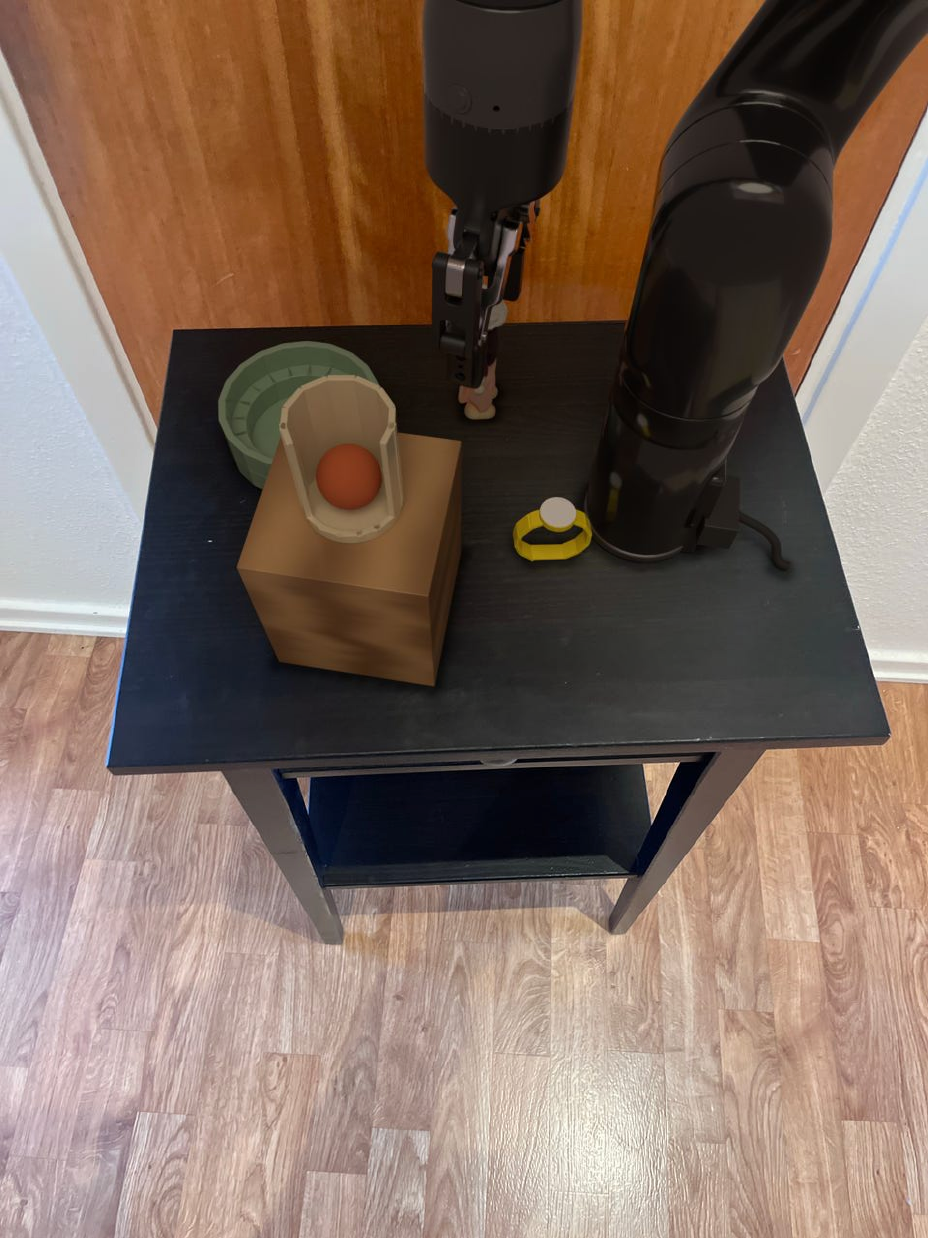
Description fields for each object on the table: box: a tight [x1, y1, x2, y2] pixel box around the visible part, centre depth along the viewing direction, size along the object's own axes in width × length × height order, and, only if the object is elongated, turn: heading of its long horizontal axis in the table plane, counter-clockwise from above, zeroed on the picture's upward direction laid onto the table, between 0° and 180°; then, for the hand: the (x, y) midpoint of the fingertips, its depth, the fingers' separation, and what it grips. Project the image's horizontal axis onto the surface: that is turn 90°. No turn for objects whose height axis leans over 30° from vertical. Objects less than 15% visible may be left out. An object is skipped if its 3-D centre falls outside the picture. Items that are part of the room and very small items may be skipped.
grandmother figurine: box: [457, 284, 509, 420], centre depth 71 cm, size 8×4×13 cm, turn 2°
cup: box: [279, 375, 404, 544], centre depth 51 cm, size 6×6×8 cm
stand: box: [236, 432, 463, 687], centre depth 61 cm, size 12×12×14 cm
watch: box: [512, 496, 593, 562], centre depth 67 cm, size 6×3×6 cm, turn 95°
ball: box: [316, 444, 382, 510], centre depth 53 cm, size 4×4×4 cm
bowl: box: [217, 340, 380, 490], centre depth 73 cm, size 13×13×5 cm
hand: (485, 337), depth 56 cm, fingers open, 8 cm apart
